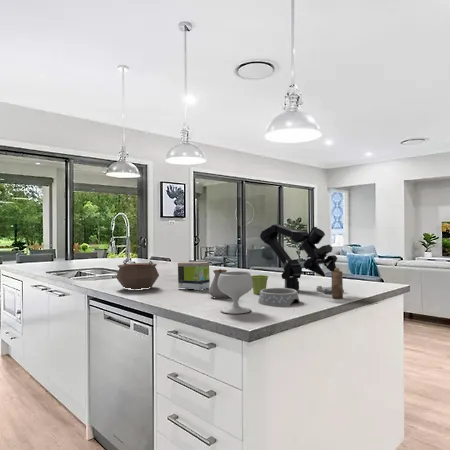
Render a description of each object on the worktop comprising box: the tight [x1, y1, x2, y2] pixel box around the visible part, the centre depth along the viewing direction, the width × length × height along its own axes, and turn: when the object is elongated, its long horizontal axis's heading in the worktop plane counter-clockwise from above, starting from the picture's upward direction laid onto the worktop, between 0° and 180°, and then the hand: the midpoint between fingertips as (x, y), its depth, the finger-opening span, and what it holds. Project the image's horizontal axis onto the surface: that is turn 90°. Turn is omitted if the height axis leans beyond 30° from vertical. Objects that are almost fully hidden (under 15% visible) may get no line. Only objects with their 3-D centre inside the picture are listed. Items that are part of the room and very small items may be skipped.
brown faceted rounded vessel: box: [115, 259, 160, 289], centre depth 214 cm, size 24×24×16 cm
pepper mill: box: [330, 267, 344, 300], centre depth 173 cm, size 5×5×14 cm
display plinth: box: [316, 284, 345, 295], centre depth 190 cm, size 10×10×2 cm
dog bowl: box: [257, 287, 301, 307], centre depth 166 cm, size 17×18×5 cm
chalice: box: [217, 271, 253, 315], centre depth 150 cm, size 14×14×15 cm
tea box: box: [177, 261, 211, 291], centre depth 210 cm, size 15×10×15 cm
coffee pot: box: [208, 268, 230, 299], centre depth 177 cm, size 21×12×15 cm, turn 0°
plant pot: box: [251, 274, 269, 295], centre depth 190 cm, size 9×9×9 cm
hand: (331, 275), depth 176 cm, fingers open, 9 cm apart
